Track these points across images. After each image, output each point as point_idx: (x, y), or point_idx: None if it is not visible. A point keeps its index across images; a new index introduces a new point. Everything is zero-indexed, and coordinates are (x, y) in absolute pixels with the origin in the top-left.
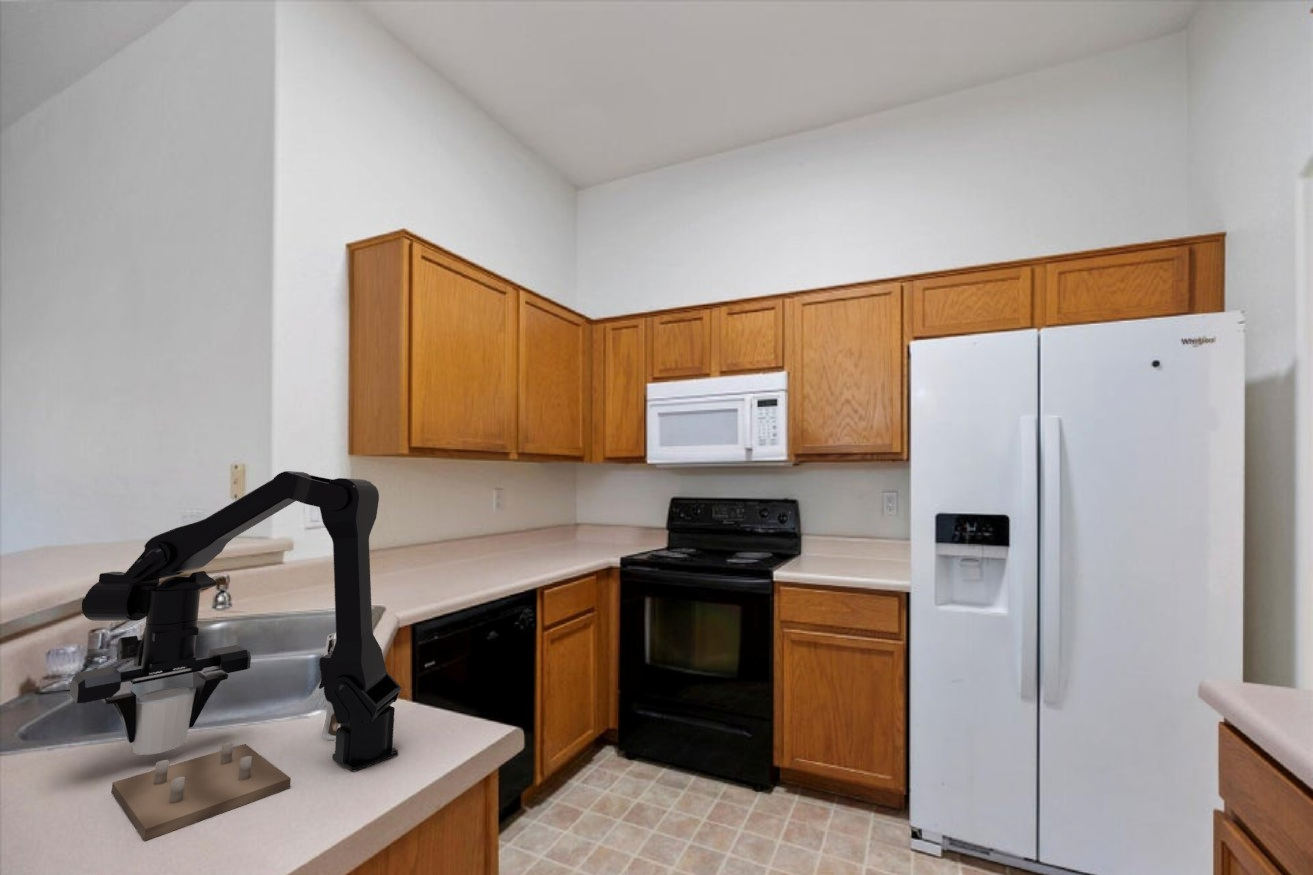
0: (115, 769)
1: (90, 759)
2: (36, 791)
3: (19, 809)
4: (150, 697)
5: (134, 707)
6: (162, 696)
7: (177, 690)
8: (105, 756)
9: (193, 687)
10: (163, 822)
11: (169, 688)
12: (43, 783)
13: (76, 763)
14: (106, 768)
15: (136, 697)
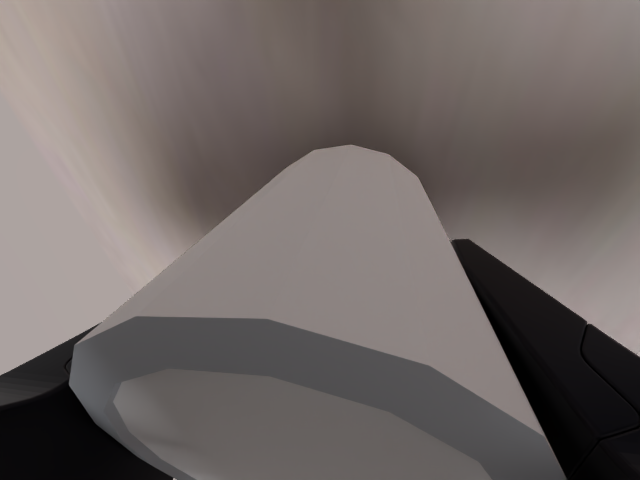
0: (246, 199)
1: (137, 15)
2: (111, 210)
3: (129, 277)
4: (197, 447)
5: (167, 476)
6: (276, 474)
7: (401, 459)
8: (182, 19)
9: (603, 461)
10: None
11: (333, 390)
12: (98, 166)
13: (105, 30)
14: (220, 171)
15: (83, 392)
